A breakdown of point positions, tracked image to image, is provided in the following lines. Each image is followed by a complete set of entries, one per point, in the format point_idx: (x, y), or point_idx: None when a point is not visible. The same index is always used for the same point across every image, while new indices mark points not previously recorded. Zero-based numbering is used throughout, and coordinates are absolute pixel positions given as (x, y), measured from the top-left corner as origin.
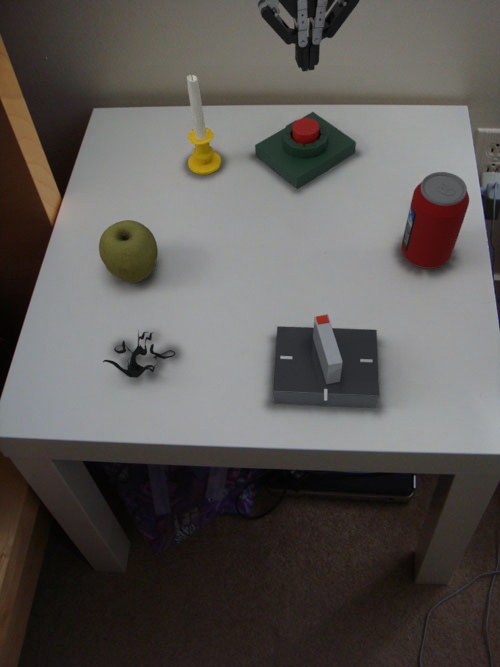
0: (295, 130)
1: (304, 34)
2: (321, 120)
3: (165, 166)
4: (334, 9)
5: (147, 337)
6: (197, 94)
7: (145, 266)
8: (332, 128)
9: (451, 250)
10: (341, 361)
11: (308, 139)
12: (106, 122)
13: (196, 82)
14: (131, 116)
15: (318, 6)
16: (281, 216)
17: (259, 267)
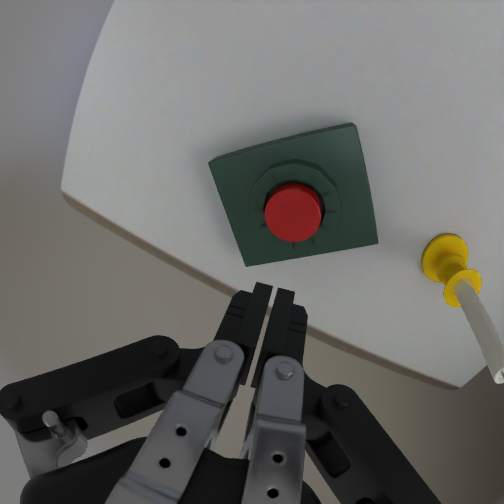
0: (318, 215)
1: (272, 399)
2: (241, 240)
3: (482, 279)
4: (111, 420)
5: None
6: (497, 344)
7: None
8: (232, 213)
9: None
10: None
11: (300, 186)
12: (471, 369)
13: (502, 364)
14: (448, 368)
15: (168, 502)
16: (404, 81)
17: (468, 21)
